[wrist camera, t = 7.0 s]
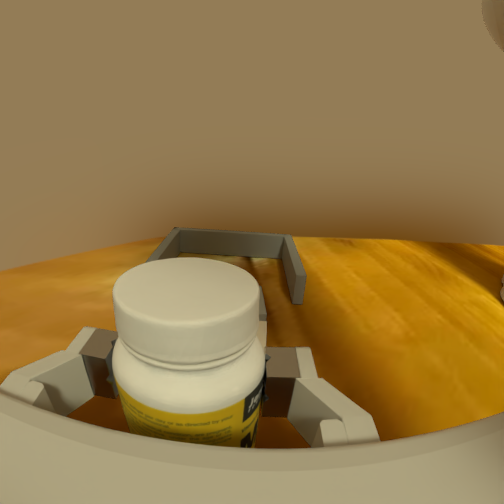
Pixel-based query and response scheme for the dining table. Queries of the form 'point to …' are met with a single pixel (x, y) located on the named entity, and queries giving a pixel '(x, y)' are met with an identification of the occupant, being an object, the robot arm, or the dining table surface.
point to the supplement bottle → (189, 351)
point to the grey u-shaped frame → (238, 250)
